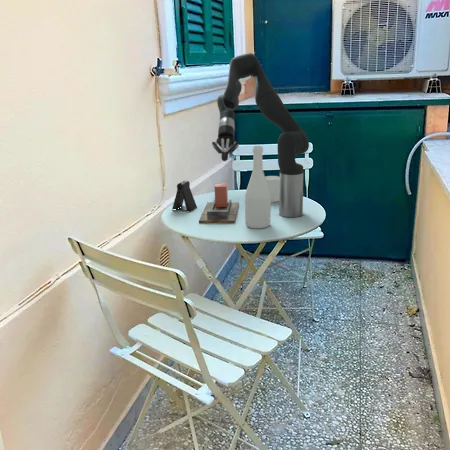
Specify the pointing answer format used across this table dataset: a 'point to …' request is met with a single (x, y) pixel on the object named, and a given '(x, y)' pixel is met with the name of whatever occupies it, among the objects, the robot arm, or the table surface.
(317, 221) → the table surface
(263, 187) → the wine bottle
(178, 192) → the black a-frame stand
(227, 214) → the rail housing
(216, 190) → the orange upright block
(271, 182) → the mug
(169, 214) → the table surface
